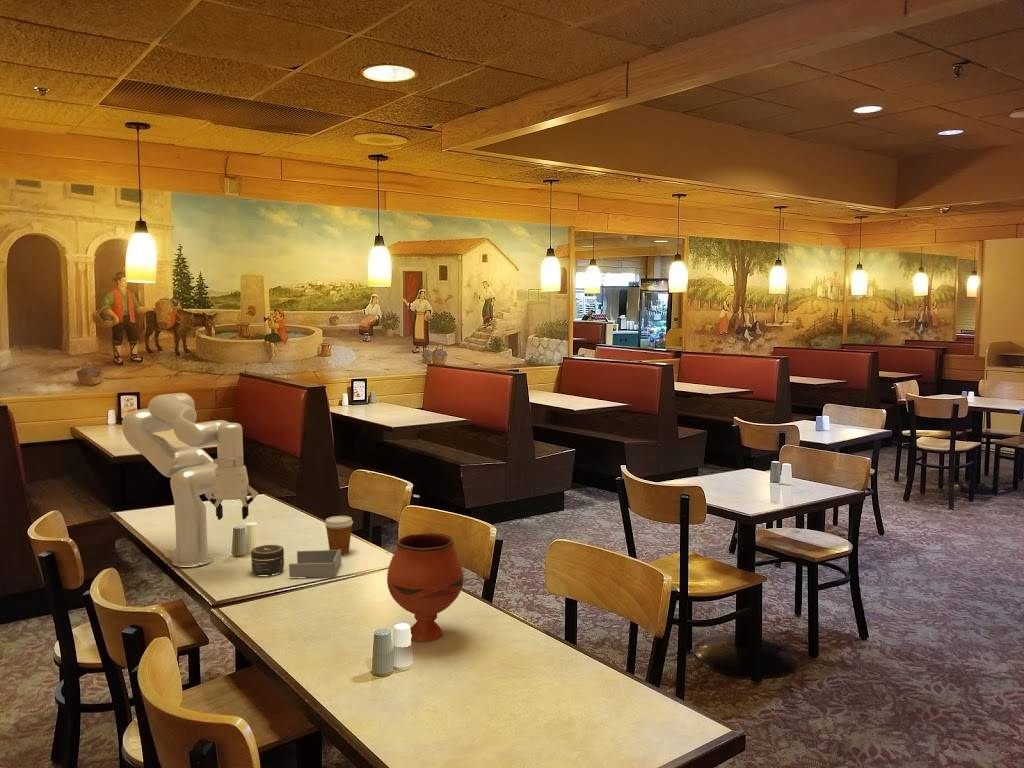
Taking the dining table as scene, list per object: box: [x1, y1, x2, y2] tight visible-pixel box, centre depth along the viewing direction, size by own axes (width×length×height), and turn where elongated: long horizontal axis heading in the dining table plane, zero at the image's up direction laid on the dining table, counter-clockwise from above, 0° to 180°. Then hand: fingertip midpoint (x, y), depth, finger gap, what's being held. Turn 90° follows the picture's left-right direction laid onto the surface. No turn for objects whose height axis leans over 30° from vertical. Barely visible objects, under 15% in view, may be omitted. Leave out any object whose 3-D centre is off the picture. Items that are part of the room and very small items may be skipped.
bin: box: [288, 549, 342, 578], centre depth 253 cm, size 14×14×5 cm
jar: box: [250, 544, 285, 576], centre depth 251 cm, size 10×10×8 cm
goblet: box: [386, 532, 464, 642], centre depth 202 cm, size 19×19×25 cm
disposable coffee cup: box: [324, 515, 354, 556], centre depth 271 cm, size 10×10×12 cm
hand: (232, 518), depth 249 cm, fingers open, 6 cm apart
